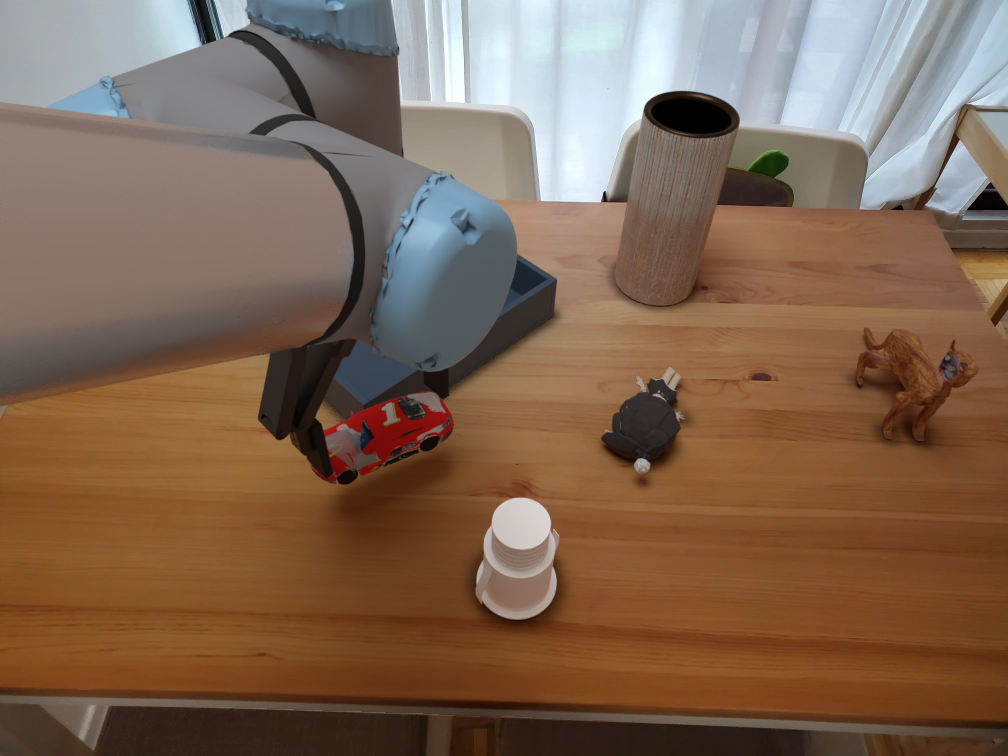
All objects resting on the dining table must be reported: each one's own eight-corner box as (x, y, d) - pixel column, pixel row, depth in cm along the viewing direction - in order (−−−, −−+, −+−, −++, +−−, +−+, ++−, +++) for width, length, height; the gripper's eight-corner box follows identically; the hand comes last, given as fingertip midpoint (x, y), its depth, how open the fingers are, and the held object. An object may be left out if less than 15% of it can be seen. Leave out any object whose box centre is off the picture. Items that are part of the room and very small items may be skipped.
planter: (686, 257, 95) (730, 91, 78) (699, 308, 88) (750, 137, 72) (611, 255, 95) (638, 88, 78) (617, 306, 88) (649, 134, 72)
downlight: (530, 531, 67) (536, 468, 59) (576, 590, 63) (589, 530, 56) (456, 575, 64) (453, 514, 56) (501, 640, 60) (504, 584, 52)
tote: (370, 442, 73) (363, 405, 69) (246, 325, 84) (233, 287, 80) (553, 316, 87) (557, 279, 82) (426, 230, 98) (423, 193, 93)
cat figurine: (833, 334, 86) (880, 240, 76) (889, 336, 86) (943, 243, 76) (878, 455, 74) (941, 363, 64) (943, 459, 74) (1017, 367, 63)
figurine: (634, 365, 81) (579, 451, 71) (671, 335, 76) (617, 423, 66) (680, 406, 81) (632, 497, 71) (719, 378, 76) (674, 472, 66)
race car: (322, 497, 61) (314, 469, 59) (302, 452, 65) (295, 423, 62) (461, 442, 66) (461, 413, 63) (436, 403, 69) (435, 374, 66)
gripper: (214, 334, 40) (286, 536, 56) (520, 178, 52) (508, 380, 68) (151, 271, 44) (235, 478, 59) (451, 139, 56) (455, 340, 71)
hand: (381, 426), depth 64 cm, fingers closed on race car, 12 cm apart
